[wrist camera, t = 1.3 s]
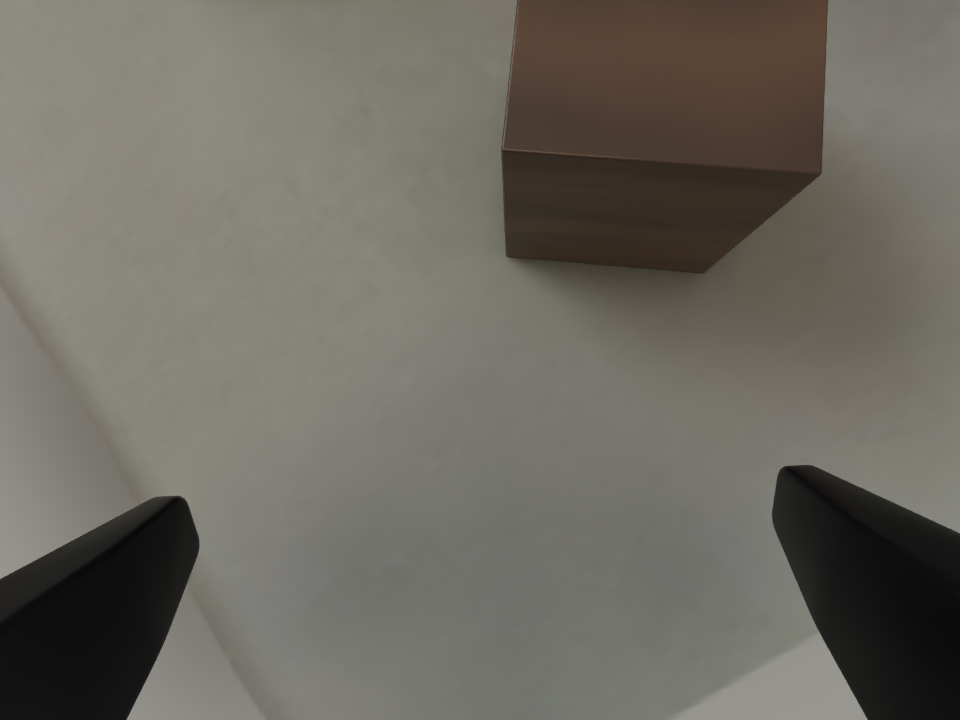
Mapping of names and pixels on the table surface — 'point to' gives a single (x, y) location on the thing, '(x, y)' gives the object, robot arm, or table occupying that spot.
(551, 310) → the table surface
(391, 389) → the table surface
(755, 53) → the walnut block
